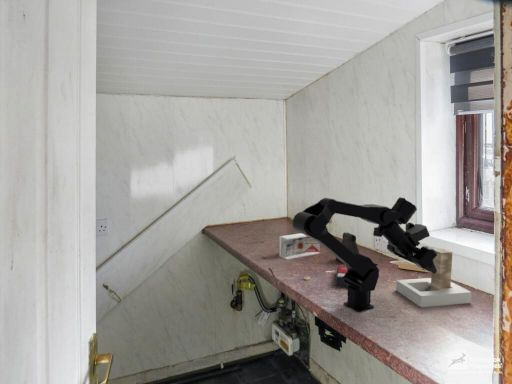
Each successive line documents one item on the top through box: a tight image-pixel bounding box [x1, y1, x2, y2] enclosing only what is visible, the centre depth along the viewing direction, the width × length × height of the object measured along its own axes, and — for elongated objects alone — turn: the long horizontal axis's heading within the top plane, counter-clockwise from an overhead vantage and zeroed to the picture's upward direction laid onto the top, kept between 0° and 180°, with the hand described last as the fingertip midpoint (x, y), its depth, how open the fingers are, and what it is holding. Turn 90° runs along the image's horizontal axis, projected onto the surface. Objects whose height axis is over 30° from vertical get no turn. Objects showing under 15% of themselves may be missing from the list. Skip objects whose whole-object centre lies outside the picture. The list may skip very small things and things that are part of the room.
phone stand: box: [335, 231, 360, 265], centre depth 152 cm, size 9×6×12 cm, turn 106°
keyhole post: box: [426, 248, 453, 291], centre depth 114 cm, size 6×6×15 cm
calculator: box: [335, 264, 363, 289], centre depth 130 cm, size 11×4×15 cm
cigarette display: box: [279, 232, 321, 260], centre depth 162 cm, size 20×6×9 cm, turn 120°
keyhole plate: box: [395, 277, 472, 308], centre depth 115 cm, size 17×14×4 cm
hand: (426, 267), depth 113 cm, fingers open, 9 cm apart
